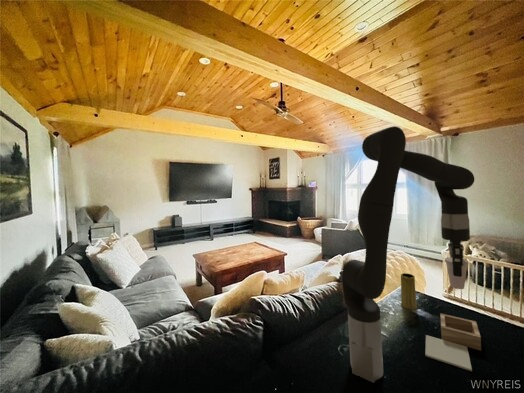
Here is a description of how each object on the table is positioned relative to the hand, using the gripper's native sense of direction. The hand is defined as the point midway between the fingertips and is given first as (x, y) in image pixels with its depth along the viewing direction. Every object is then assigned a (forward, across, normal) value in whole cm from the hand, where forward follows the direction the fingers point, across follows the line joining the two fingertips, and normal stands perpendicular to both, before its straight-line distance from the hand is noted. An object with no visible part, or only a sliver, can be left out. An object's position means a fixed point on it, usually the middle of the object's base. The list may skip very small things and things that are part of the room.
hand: (456, 272), depth 78 cm
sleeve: (+23, 0, 0) cm, 23 cm away
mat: (+23, +11, -4) cm, 26 cm away
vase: (+24, -14, -16) cm, 32 cm away
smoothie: (+5, 0, 0) cm, 5 cm away
